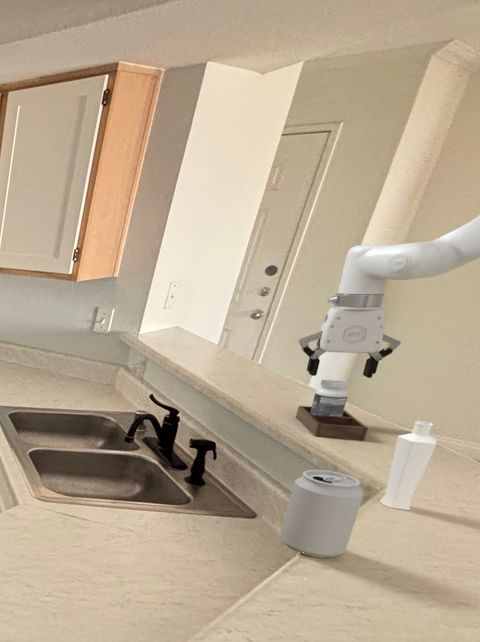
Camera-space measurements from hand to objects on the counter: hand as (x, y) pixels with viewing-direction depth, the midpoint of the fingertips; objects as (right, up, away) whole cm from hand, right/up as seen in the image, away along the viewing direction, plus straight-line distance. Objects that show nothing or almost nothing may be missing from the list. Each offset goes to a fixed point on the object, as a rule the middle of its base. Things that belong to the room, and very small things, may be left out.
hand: (339, 375), depth 138 cm
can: (-52, -32, -48) cm, 78 cm away
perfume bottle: (-26, -27, -36) cm, 52 cm away
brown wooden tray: (-1, -12, +1) cm, 13 cm away
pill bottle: (0, -11, +4) cm, 12 cm away
